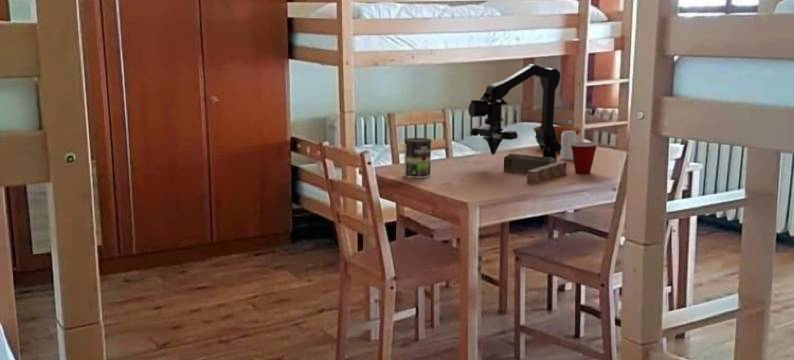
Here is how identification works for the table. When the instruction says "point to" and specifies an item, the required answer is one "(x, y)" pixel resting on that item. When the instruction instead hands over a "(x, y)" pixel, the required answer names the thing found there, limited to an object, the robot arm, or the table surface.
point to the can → (567, 144)
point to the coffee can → (417, 157)
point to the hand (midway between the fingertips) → (493, 154)
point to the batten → (546, 172)
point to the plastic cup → (583, 156)
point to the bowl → (561, 131)
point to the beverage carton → (525, 162)
